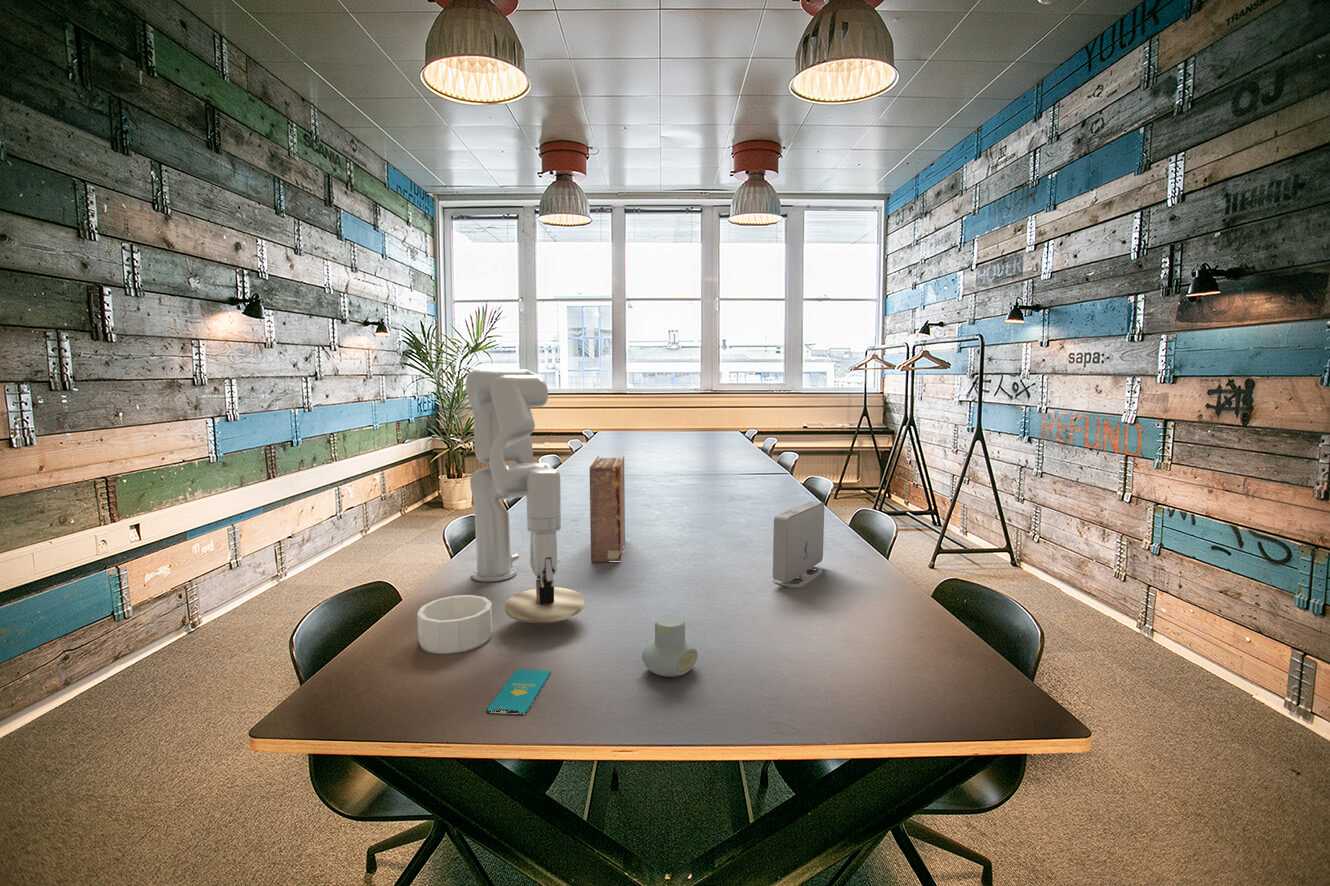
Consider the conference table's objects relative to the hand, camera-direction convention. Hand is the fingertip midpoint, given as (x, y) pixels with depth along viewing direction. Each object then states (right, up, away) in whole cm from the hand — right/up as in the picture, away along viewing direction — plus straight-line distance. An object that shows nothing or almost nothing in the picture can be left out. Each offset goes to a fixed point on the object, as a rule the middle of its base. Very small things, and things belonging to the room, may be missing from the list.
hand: (545, 598), depth 138 cm
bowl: (-18, -7, -7) cm, 21 cm away
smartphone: (+1, -10, -29) cm, 31 cm away
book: (+9, 0, +58) cm, 59 cm away
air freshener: (+29, -9, -21) cm, 37 cm away
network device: (+66, -3, +33) cm, 74 cm away
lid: (0, -2, 0) cm, 2 cm away
